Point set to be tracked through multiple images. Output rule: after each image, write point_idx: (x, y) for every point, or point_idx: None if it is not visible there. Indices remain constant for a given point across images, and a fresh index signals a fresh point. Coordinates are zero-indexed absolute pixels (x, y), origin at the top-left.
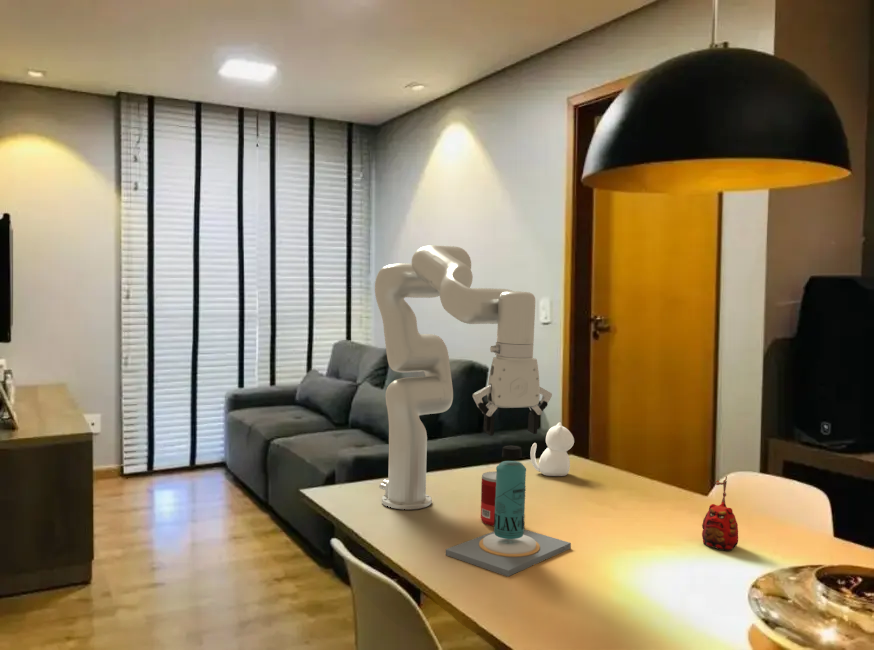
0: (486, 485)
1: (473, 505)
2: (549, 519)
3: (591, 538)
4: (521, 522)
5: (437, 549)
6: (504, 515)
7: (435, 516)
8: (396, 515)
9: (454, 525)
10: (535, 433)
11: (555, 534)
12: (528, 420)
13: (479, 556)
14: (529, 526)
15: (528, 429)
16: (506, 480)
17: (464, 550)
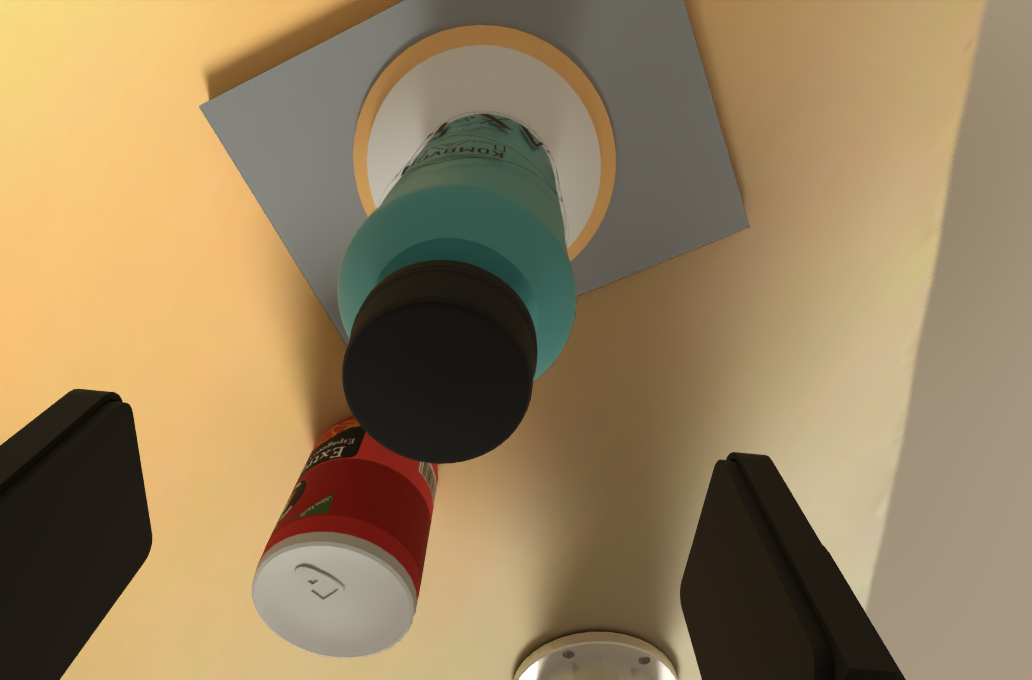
0: (414, 560)
1: None
2: (168, 425)
3: (68, 182)
4: (446, 130)
5: (736, 284)
6: (540, 157)
7: (567, 564)
8: None
9: (548, 475)
10: (101, 393)
11: (209, 275)
12: (72, 655)
13: (669, 99)
14: (278, 384)
15: (142, 547)
16: (540, 207)
17: (688, 188)
